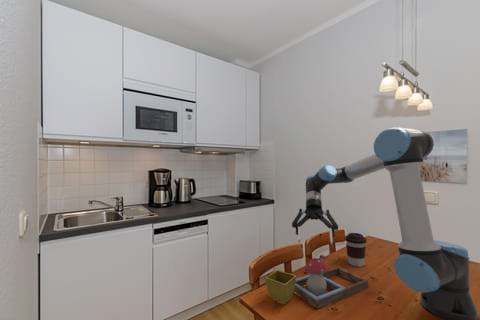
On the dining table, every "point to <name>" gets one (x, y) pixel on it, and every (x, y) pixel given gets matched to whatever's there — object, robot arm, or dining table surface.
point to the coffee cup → (355, 249)
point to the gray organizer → (334, 287)
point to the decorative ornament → (316, 276)
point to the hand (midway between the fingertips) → (315, 242)
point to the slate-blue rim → (323, 294)
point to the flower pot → (280, 286)
